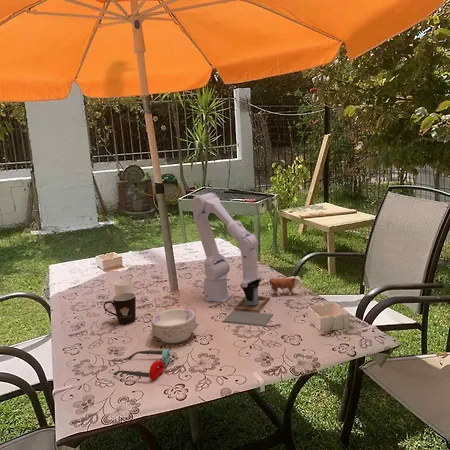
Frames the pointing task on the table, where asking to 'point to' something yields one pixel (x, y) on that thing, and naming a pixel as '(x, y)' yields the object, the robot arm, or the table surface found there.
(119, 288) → the white cup
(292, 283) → the bull figurine
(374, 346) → the table surface
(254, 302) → the blue block
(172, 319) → the white round bowl
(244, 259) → the robot arm
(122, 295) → the coffee mug
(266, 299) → the pocket frame
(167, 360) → the novelty glasses
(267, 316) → the rubber mat
